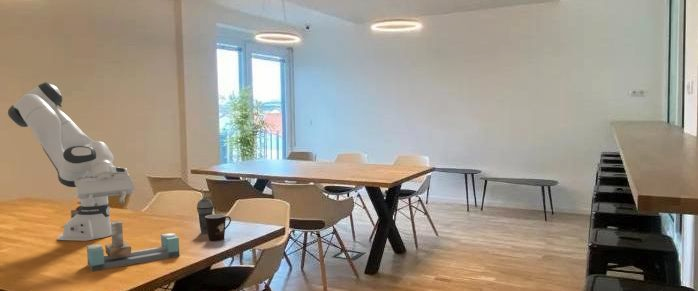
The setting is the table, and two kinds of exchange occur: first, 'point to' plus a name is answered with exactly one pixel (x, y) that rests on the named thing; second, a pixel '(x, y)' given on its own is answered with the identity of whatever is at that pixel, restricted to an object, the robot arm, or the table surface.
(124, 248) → the carriage
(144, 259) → the rail bed
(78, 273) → the table surface
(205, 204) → the beverage cup
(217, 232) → the coffee mug
